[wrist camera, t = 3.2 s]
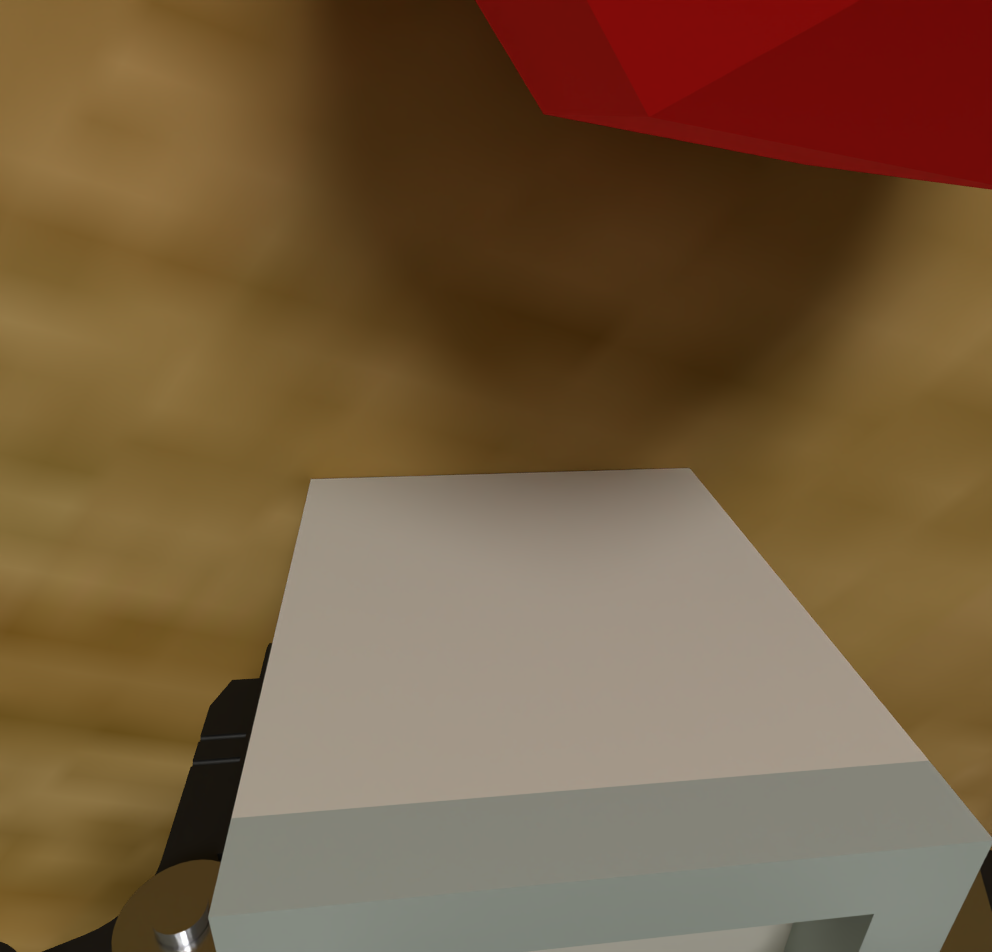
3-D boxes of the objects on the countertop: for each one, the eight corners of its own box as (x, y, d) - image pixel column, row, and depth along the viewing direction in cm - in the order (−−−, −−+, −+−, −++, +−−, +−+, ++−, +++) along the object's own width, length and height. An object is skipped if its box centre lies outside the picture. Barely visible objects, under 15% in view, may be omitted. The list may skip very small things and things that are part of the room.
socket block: (688, 467, 12) (994, 840, 6) (645, 739, 14) (823, 1188, 8) (310, 479, 11) (208, 917, 5) (338, 762, 14) (292, 1271, 8)
